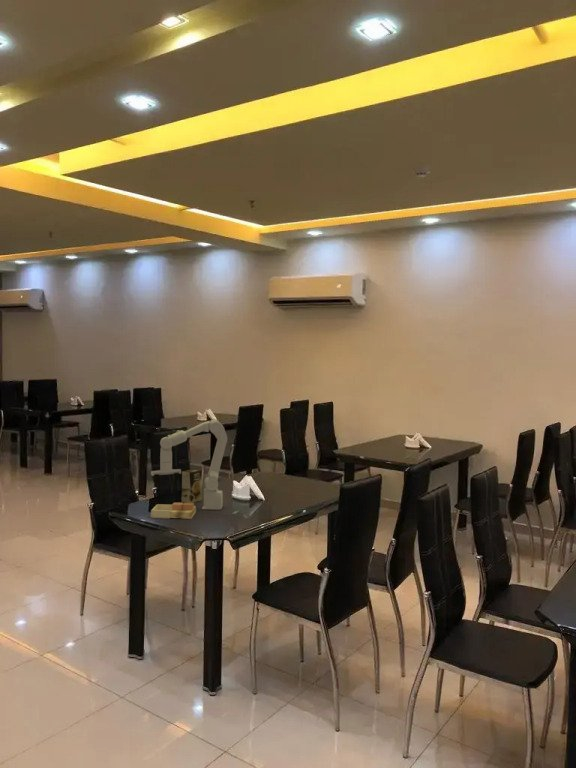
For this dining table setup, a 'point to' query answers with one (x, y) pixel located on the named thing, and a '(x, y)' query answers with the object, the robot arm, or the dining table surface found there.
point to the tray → (161, 511)
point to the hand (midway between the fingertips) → (166, 489)
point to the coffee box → (191, 485)
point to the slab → (183, 513)
